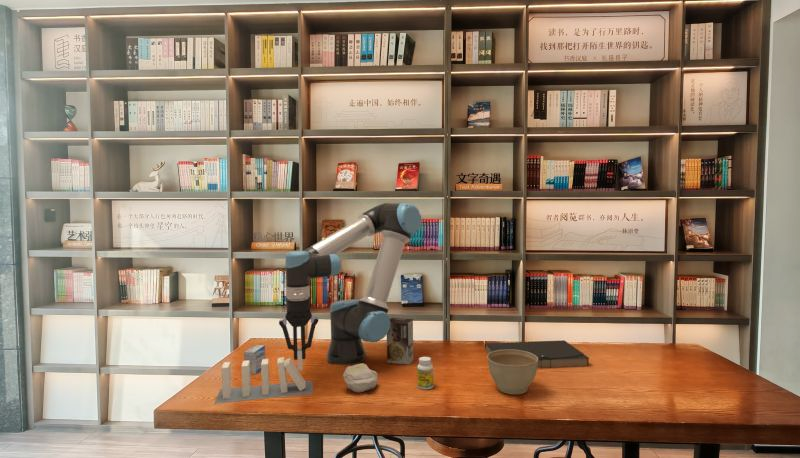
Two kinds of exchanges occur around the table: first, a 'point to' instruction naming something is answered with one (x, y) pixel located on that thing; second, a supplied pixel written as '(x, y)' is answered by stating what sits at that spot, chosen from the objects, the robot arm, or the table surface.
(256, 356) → the medicine box
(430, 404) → the table surface
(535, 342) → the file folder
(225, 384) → the domino
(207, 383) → the table surface
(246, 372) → the domino
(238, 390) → the mat
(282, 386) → the domino
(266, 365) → the domino
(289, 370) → the domino
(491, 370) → the planter bowl
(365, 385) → the fossil replica
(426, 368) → the supplement bottle
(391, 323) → the coffee box
